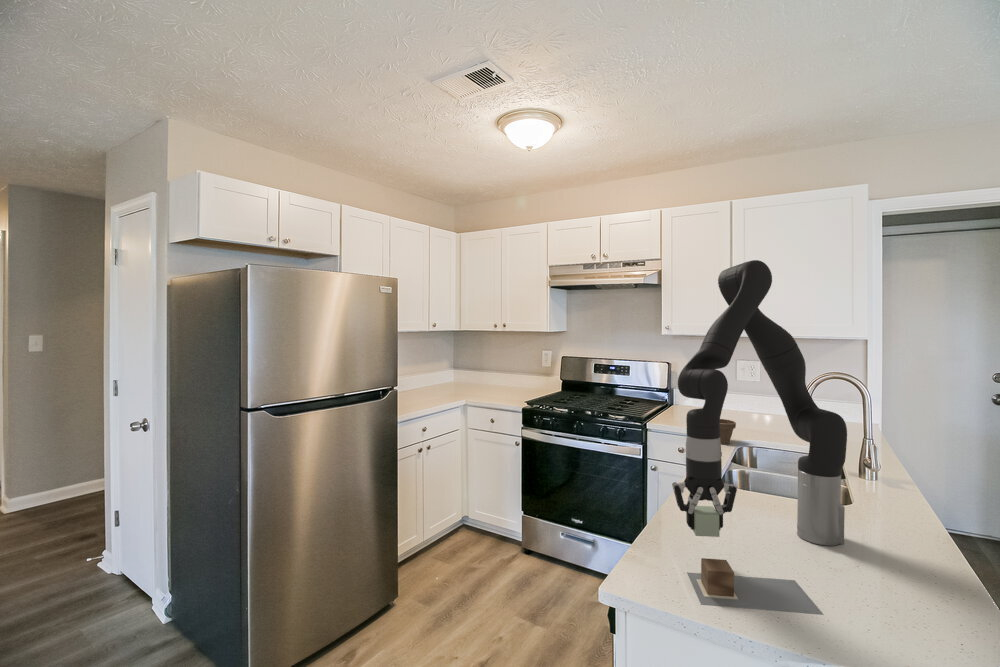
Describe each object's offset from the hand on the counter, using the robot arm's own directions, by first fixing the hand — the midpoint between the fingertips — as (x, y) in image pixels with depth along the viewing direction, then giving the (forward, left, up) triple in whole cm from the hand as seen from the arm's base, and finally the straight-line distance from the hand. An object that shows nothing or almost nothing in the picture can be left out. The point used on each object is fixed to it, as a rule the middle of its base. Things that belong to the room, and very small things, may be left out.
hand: (704, 528), depth 110 cm
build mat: (-6, +12, -8) cm, 15 cm away
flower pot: (-37, -115, -9) cm, 121 cm away
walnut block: (0, +12, -8) cm, 14 cm away
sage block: (0, 0, -1) cm, 1 cm away
